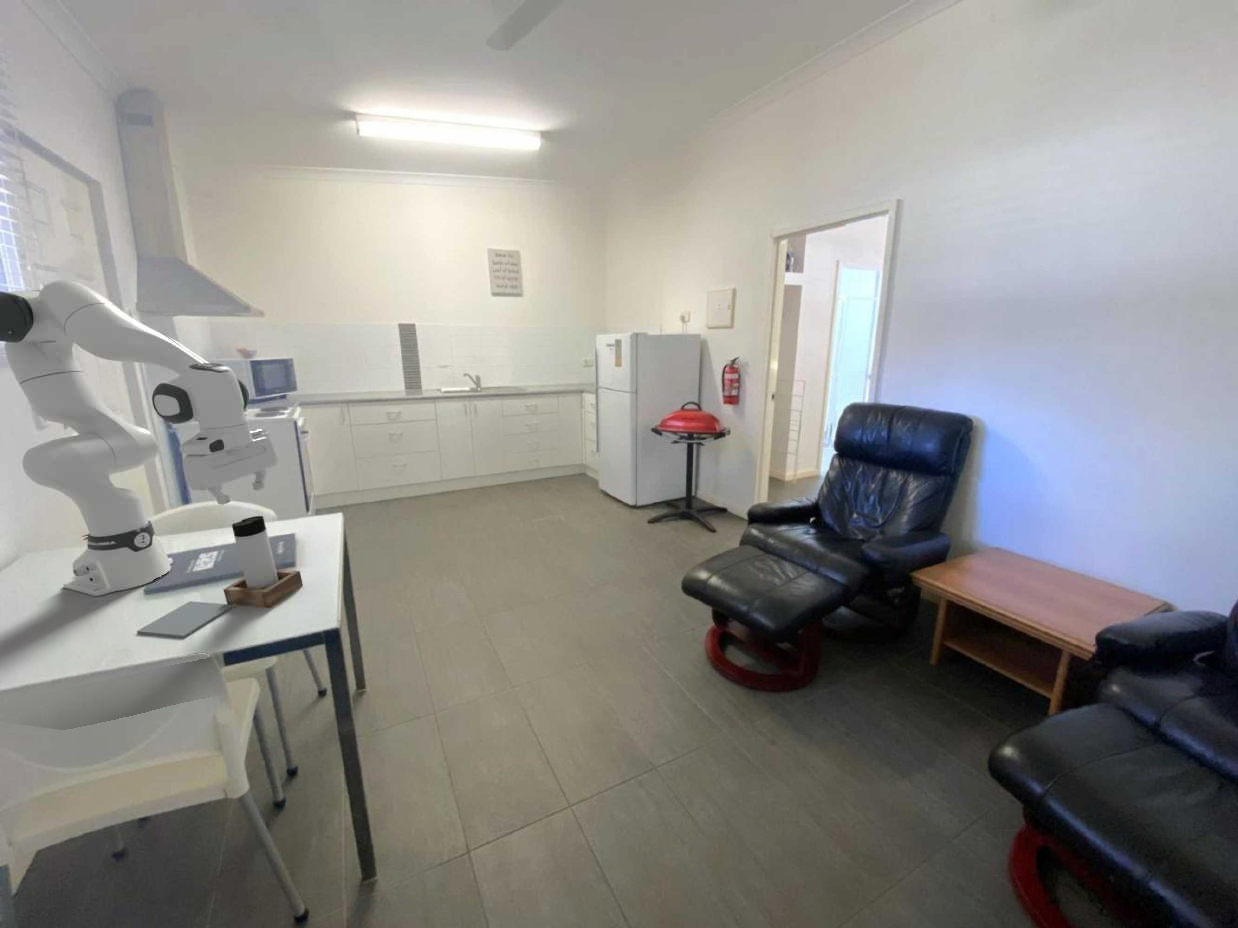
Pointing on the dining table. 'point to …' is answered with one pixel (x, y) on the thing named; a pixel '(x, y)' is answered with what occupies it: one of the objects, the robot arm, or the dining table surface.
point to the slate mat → (185, 619)
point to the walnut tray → (263, 590)
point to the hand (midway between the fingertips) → (242, 496)
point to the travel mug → (255, 553)
